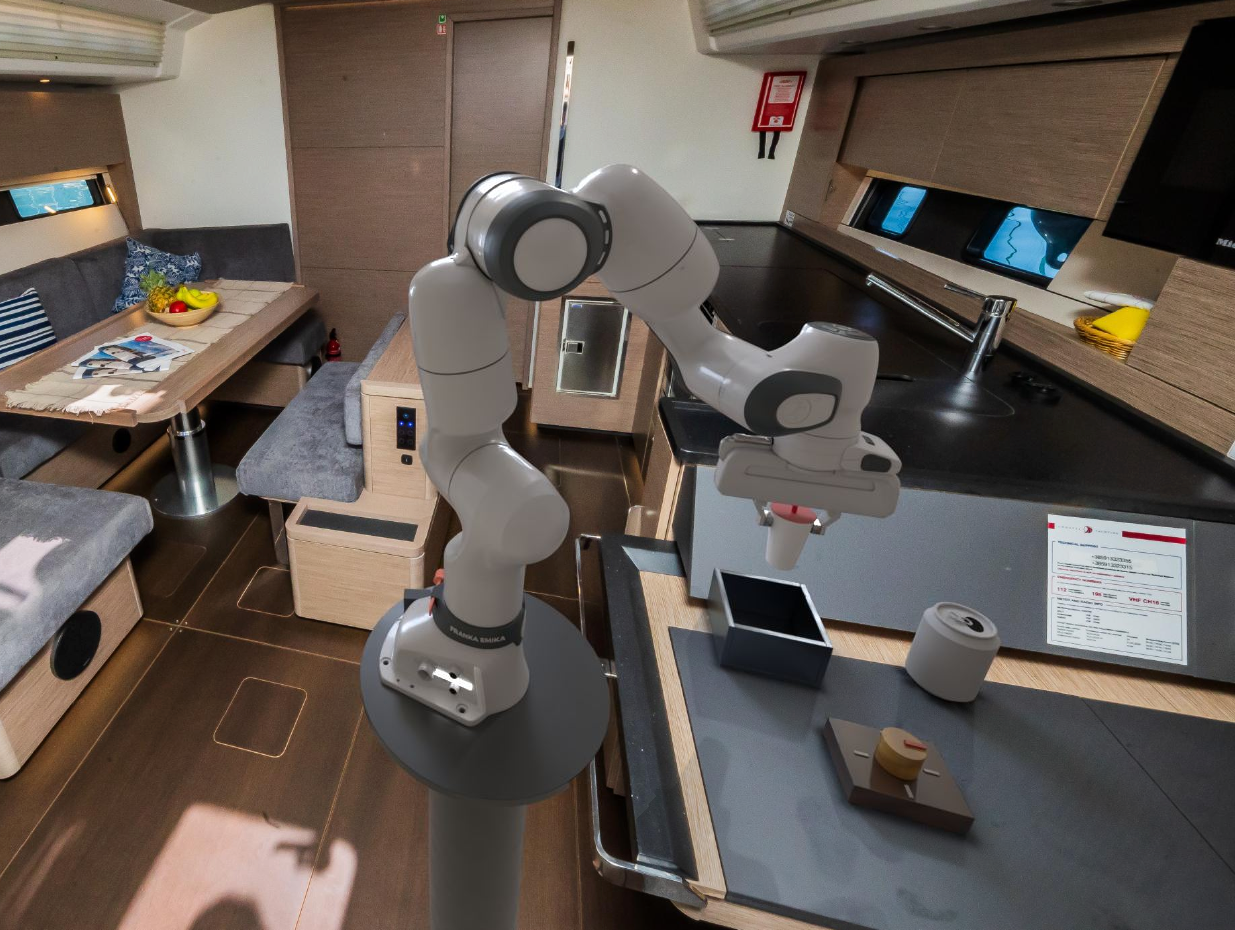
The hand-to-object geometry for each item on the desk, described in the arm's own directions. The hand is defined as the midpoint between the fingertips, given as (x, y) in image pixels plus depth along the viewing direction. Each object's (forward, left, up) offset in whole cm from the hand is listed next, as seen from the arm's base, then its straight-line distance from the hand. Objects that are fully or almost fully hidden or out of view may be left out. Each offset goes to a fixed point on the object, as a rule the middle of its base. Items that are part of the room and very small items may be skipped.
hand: (789, 528), depth 80 cm
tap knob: (+10, -18, -19) cm, 28 cm away
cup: (0, 0, -6) cm, 6 cm away
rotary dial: (+10, -18, -22) cm, 30 cm away
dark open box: (0, 0, -22) cm, 22 cm away
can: (+22, 0, -22) cm, 31 cm away
